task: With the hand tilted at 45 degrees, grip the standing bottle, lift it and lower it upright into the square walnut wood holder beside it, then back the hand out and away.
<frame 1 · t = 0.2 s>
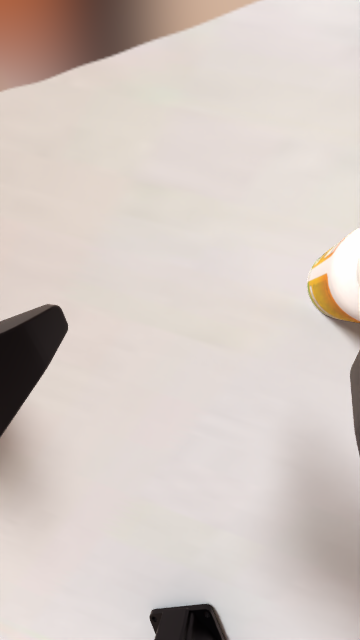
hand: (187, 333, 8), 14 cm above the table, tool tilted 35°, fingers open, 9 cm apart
supplement bottle: (344, 283, 19), on the table
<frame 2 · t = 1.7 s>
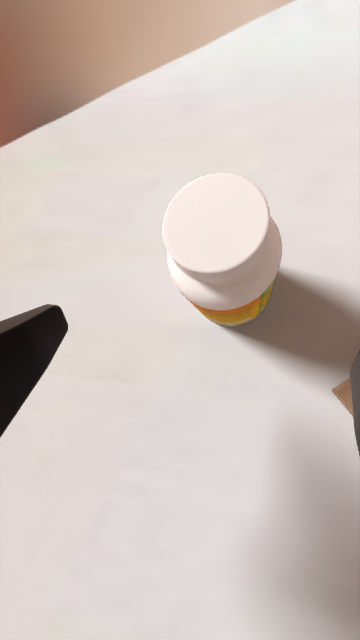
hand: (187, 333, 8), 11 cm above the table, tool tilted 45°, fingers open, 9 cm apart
supplement bottle: (231, 290, 19), on the table
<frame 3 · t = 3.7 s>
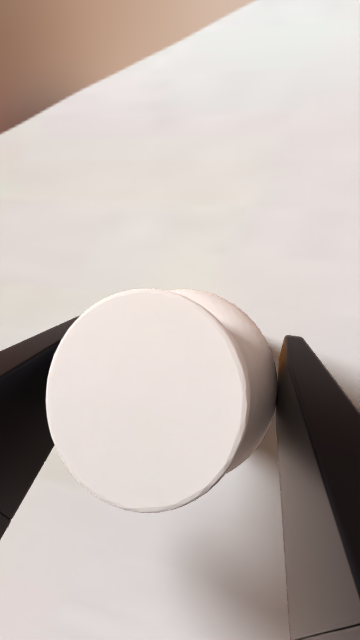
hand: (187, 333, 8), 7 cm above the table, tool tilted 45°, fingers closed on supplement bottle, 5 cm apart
supplement bottle: (212, 369, 14), on the table, touching gripper
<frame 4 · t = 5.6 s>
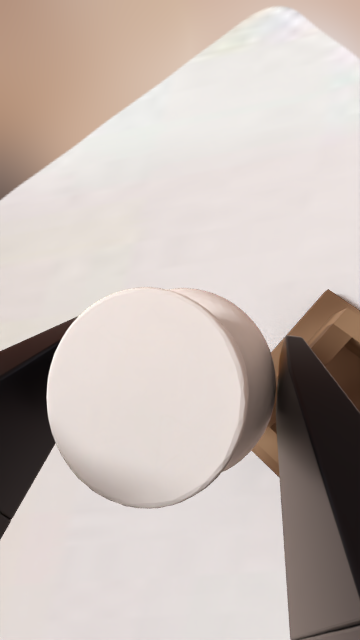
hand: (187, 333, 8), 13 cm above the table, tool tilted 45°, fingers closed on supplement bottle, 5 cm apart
bottle holder: (341, 412, 18), on the table
supplement bottle: (212, 368, 14), point 6 cm above the table, touching gripper
when the fingers open (9 cm above the table, at t = 7.7 s): supplement bottle drops 1 cm, resting on bottle holder.
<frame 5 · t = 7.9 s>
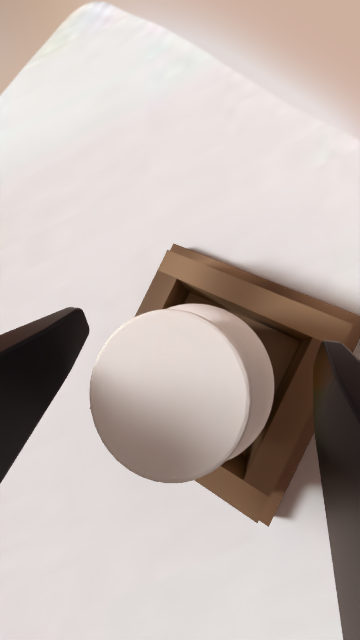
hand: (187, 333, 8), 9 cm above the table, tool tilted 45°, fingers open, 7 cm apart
bottle holder: (217, 367, 16), on the table
supplement bottle: (216, 370, 15), point 1 cm above the table, touching bottle holder
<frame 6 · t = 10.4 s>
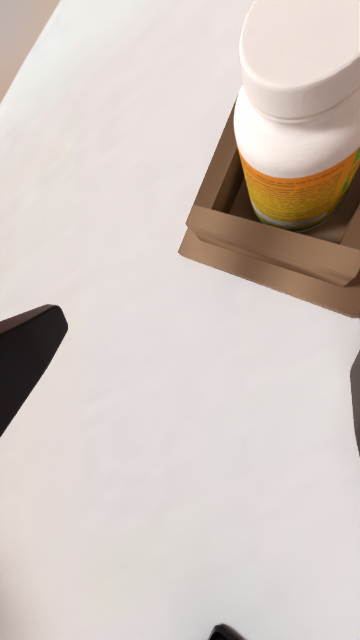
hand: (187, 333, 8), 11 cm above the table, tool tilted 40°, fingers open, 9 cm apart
bottle holder: (295, 198, 17), on the table
supplement bottle: (296, 194, 16), point 1 cm above the table, touching bottle holder
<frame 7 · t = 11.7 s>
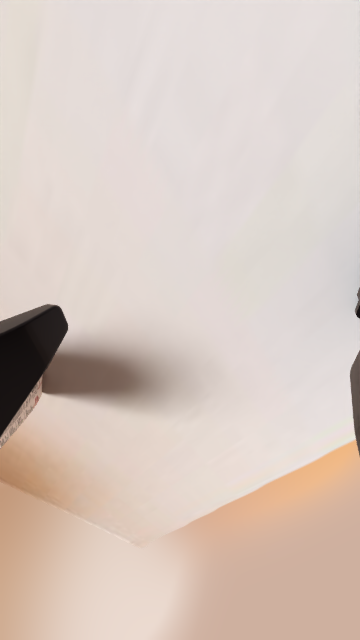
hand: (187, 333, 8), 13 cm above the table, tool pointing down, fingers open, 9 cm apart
juice carton: (26, 372, 42), on the table
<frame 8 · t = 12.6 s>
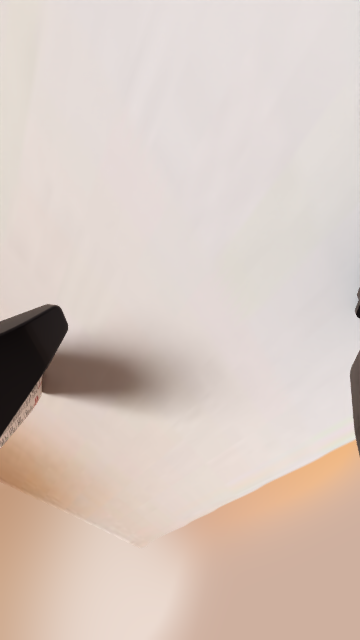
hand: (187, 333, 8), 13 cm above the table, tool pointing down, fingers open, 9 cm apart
juice carton: (26, 372, 42), on the table
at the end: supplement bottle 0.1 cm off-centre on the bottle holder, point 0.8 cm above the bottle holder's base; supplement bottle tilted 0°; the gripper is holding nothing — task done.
